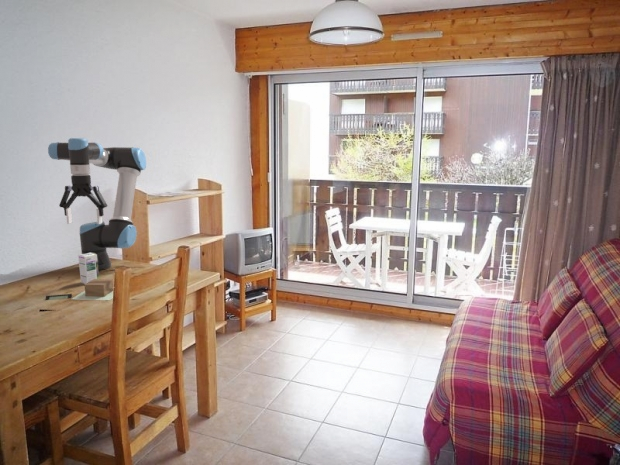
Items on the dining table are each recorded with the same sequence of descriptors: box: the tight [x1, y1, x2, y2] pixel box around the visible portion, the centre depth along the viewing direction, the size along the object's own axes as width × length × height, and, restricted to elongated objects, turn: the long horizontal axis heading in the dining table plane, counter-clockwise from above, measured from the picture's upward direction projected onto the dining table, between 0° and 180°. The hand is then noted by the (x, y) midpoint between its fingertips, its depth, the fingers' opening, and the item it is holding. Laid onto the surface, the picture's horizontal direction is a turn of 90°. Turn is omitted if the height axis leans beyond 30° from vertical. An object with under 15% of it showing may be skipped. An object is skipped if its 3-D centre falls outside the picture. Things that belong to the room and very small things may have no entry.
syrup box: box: [77, 253, 100, 284], centre depth 214 cm, size 6×6×14 cm
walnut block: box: [84, 278, 114, 297], centre depth 199 cm, size 8×8×5 cm
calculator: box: [38, 293, 73, 312], centre depth 189 cm, size 9×12×3 cm
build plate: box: [71, 290, 114, 301], centre depth 200 cm, size 16×16×2 cm
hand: (84, 223), depth 210 cm, fingers open, 13 cm apart
